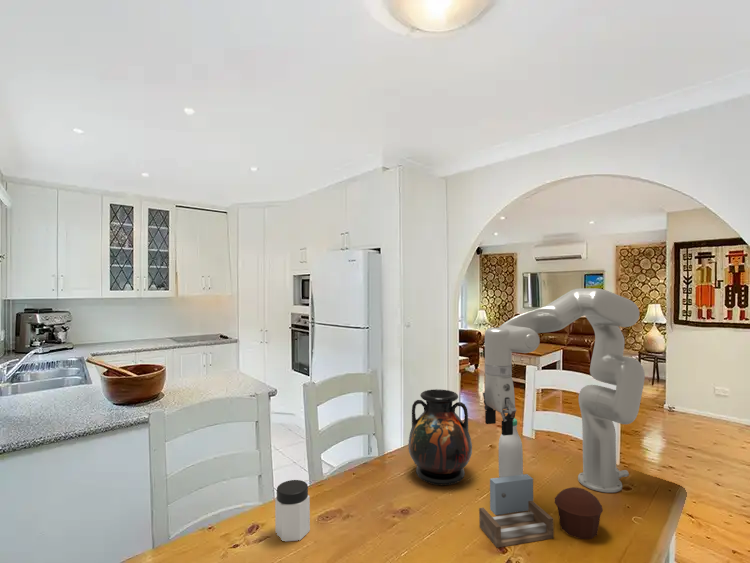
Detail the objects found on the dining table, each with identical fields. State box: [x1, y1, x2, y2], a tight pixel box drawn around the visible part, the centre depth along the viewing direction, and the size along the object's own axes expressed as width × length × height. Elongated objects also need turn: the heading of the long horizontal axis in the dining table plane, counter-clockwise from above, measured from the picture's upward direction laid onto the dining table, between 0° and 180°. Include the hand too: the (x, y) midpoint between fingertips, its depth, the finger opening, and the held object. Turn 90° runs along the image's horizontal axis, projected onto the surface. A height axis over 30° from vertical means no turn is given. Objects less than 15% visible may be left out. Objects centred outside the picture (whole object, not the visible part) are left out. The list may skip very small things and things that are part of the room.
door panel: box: [489, 473, 534, 516], centre depth 118 cm, size 12×3×9 cm, turn 103°
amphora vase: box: [407, 388, 473, 486], centre depth 140 cm, size 22×22×28 cm
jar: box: [274, 479, 311, 542], centre depth 108 cm, size 9×8×12 cm
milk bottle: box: [498, 417, 524, 478], centre depth 137 cm, size 8×8×20 cm
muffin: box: [554, 487, 604, 540], centre depth 108 cm, size 12×11×10 cm
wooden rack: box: [478, 500, 554, 548], centre depth 107 cm, size 16×9×5 cm, turn 103°
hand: (498, 429), depth 119 cm, fingers open, 9 cm apart
